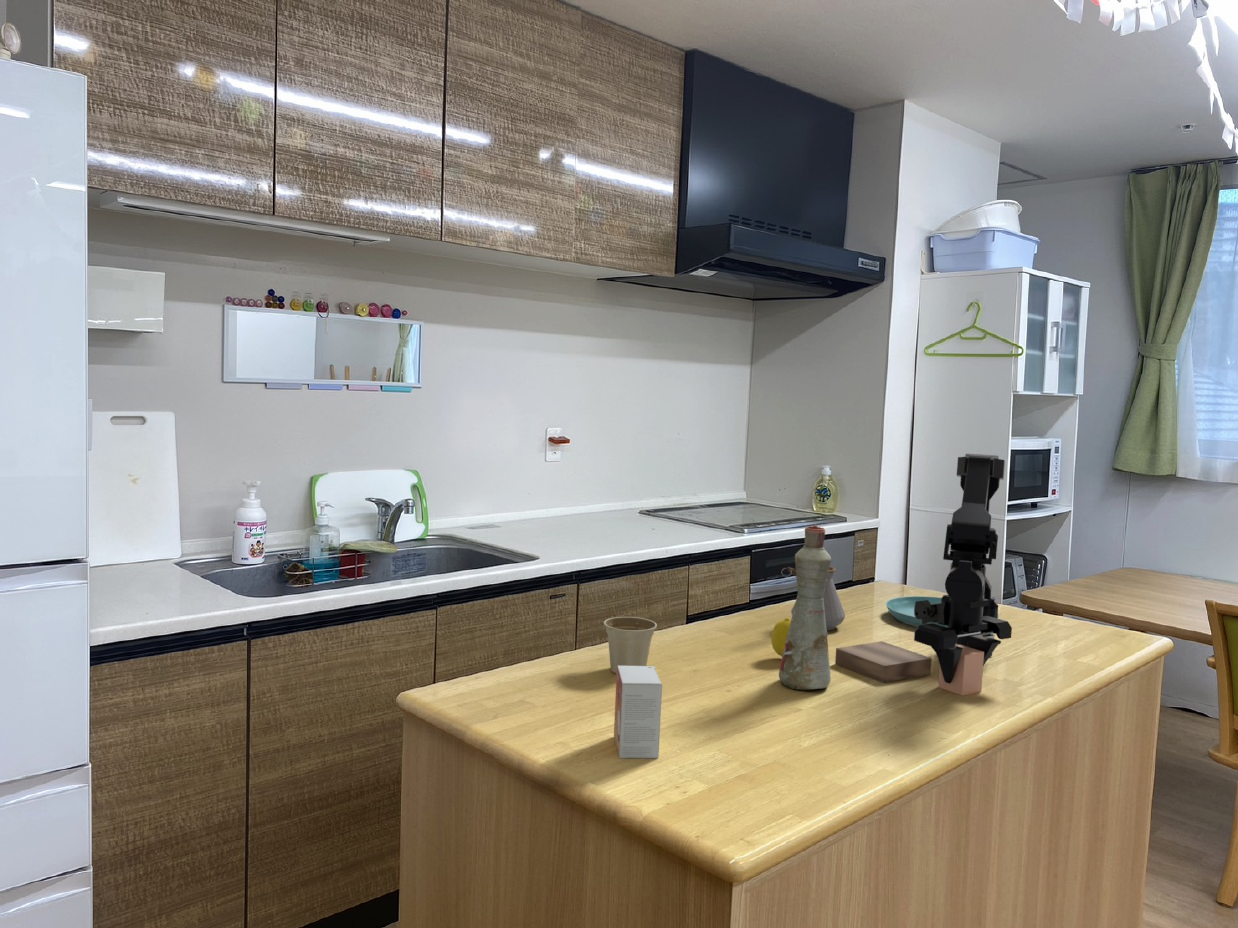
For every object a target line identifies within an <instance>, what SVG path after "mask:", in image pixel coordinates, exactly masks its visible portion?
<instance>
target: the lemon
mask: <svg viewBox="0 0 1238 928" xmlns="http://www.w3.org/2000/svg"><path fill="white" fill-rule="evenodd" d="M790 623H791V619H790V618H789V617H785V618H784V619H783V620H779V621H778V622H777V623H776V624H775V625H774V627H773V628H772V632H771V645H772V649H773V650H774V652H775V653H776V654H777V655H778V656H780V657H781V658H782V656H783V651H784V647H785V643H786V639H787V635H788V631H789V627H790Z"/></svg>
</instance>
